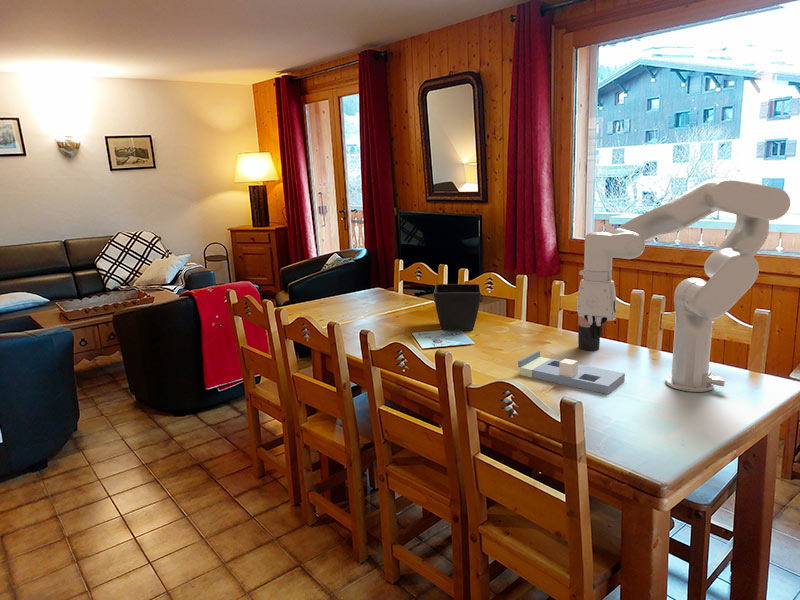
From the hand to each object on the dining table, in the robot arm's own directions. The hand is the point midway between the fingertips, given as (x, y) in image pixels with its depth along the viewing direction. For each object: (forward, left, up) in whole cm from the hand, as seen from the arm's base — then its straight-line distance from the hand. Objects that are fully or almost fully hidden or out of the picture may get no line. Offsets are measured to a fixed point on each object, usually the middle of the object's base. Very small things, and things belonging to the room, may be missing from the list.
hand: (595, 337), depth 165 cm
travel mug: (+16, -34, -15) cm, 41 cm away
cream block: (+8, +1, -12) cm, 15 cm away
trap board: (+8, -2, -15) cm, 17 cm away
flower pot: (+72, -32, -15) cm, 81 cm away
